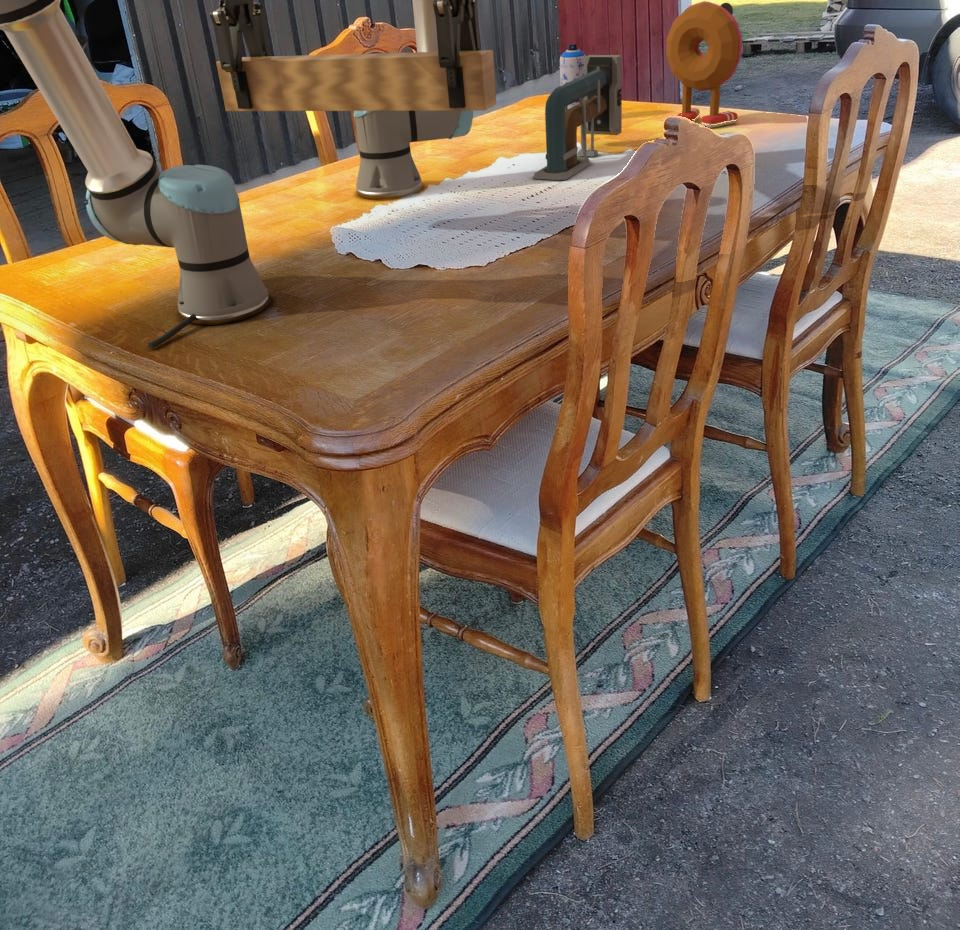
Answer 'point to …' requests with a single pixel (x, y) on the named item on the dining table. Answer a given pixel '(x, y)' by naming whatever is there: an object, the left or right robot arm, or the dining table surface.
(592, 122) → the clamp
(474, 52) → the beam
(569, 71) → the aerosol can
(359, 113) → the right robot arm
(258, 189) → the dining table surface
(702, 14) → the toy
